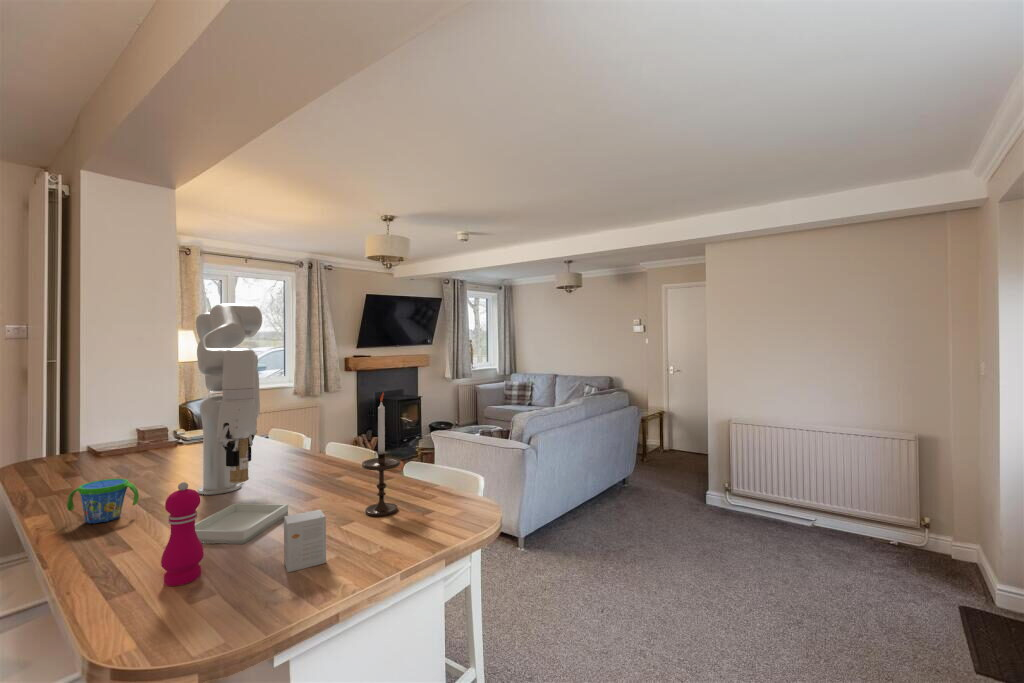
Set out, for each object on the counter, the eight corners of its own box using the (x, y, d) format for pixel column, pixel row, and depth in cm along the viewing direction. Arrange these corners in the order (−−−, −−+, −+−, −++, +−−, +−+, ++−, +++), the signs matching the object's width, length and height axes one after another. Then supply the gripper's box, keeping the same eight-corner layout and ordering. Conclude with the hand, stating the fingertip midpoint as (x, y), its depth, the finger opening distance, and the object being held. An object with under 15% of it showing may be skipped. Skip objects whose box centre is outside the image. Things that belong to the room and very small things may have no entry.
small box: (321, 554, 108) (321, 508, 108) (326, 563, 103) (326, 516, 103) (283, 563, 104) (283, 515, 104) (286, 573, 99) (286, 523, 99)
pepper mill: (175, 571, 100) (175, 477, 100) (210, 569, 100) (211, 477, 101) (152, 588, 93) (152, 488, 93) (190, 586, 93) (190, 487, 94)
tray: (234, 513, 134) (234, 503, 134) (288, 514, 133) (288, 504, 133) (181, 542, 114) (181, 530, 114) (243, 544, 113) (243, 531, 113)
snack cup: (145, 510, 137) (146, 476, 137) (124, 524, 127) (125, 486, 127) (83, 515, 134) (83, 480, 134) (56, 529, 123) (56, 491, 124)
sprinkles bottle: (249, 481, 123) (249, 431, 124) (229, 484, 121) (229, 432, 121) (248, 477, 127) (248, 428, 127) (228, 480, 125) (228, 430, 125)
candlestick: (408, 507, 139) (407, 390, 139) (383, 520, 129) (383, 393, 129) (379, 502, 143) (379, 389, 144) (353, 514, 133) (353, 392, 134)
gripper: (245, 392, 133) (245, 456, 133) (202, 398, 116) (202, 471, 116) (270, 392, 133) (270, 456, 132) (231, 398, 116) (231, 472, 115)
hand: (238, 462), depth 124 cm, fingers closed on sprinkles bottle, 4 cm apart
